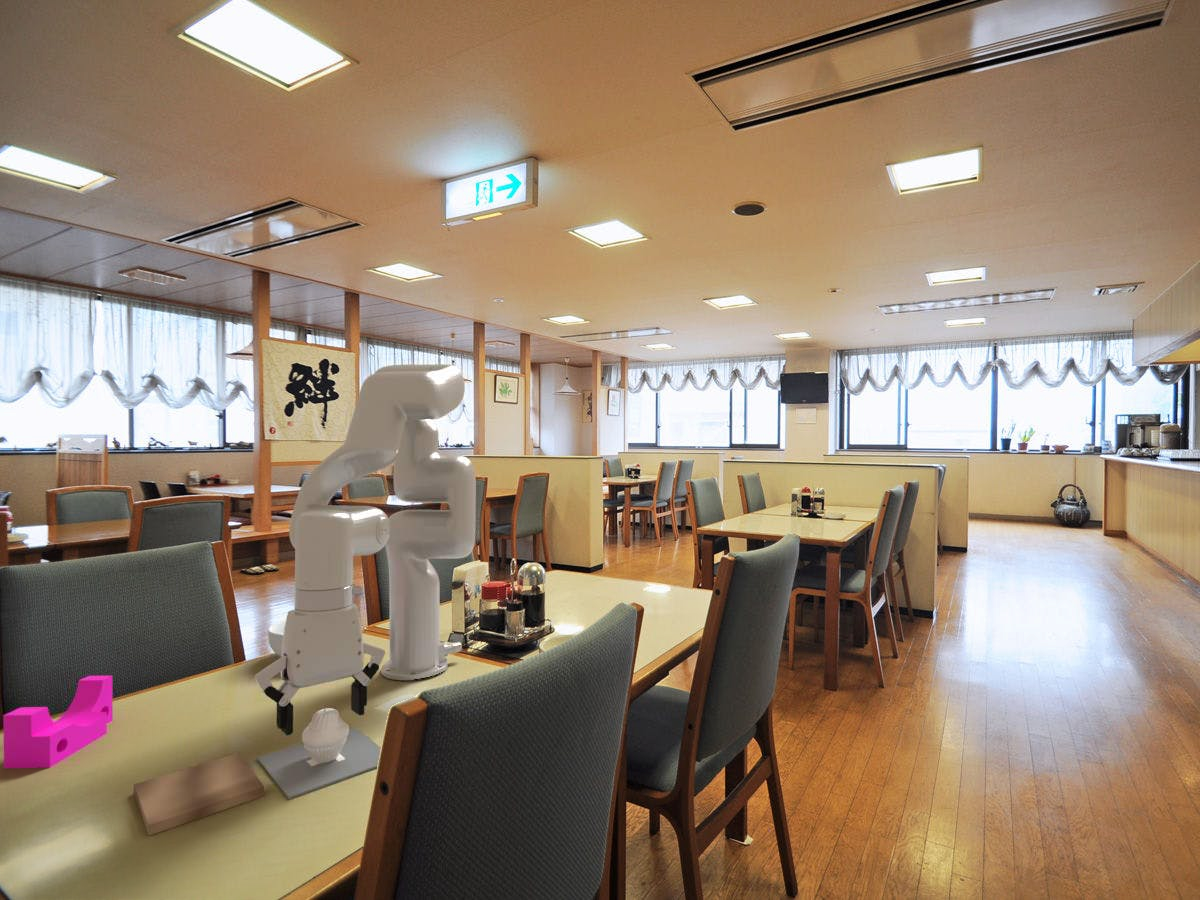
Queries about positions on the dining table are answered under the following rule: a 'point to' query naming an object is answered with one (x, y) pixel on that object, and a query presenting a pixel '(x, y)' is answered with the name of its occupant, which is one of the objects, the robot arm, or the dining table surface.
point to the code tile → (320, 765)
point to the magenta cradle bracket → (58, 727)
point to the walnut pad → (196, 792)
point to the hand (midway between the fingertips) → (323, 721)
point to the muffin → (325, 735)
